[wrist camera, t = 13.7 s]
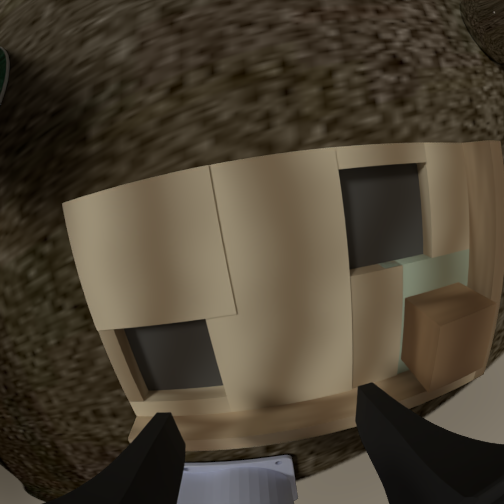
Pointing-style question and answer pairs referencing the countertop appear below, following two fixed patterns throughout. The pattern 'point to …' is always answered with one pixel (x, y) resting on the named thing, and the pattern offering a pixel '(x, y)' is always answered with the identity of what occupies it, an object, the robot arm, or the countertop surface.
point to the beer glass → (486, 25)
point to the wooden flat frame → (283, 281)
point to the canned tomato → (3, 71)
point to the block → (446, 334)
